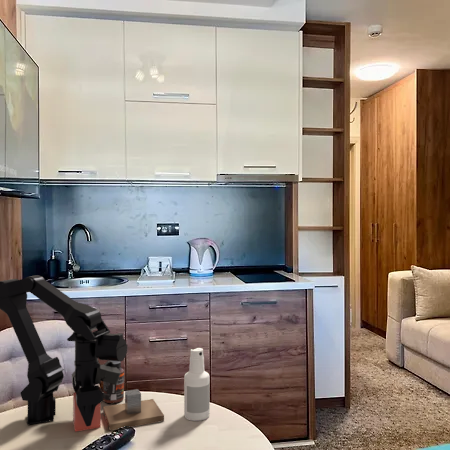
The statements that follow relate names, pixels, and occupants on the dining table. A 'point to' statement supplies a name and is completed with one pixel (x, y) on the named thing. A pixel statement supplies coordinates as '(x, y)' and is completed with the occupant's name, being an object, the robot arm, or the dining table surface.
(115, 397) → the supplement bottle
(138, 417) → the board
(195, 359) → the spray bottle
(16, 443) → the dining table surface
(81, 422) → the salmon foam cube
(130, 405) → the post
